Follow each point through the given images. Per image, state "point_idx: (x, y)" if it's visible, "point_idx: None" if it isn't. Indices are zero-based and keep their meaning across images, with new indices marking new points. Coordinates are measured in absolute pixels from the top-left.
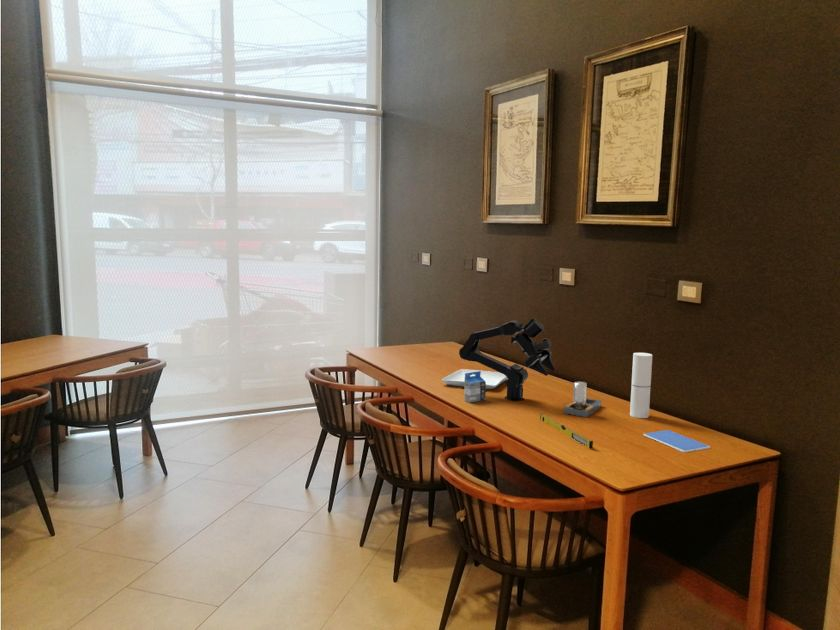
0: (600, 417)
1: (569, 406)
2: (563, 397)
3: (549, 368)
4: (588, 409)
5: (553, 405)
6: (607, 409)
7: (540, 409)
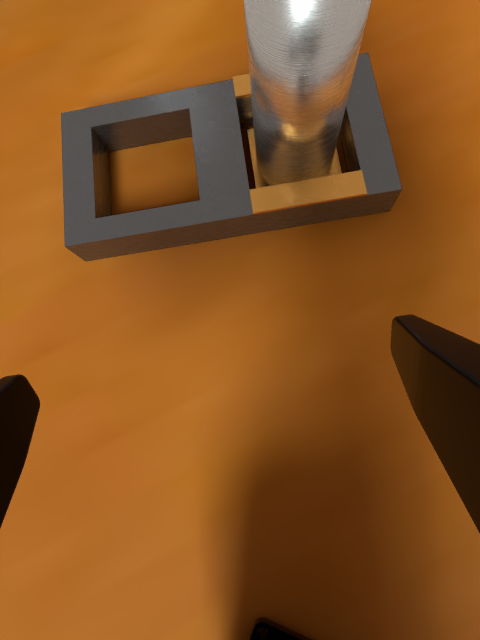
0: None
1: (352, 172)
2: None
3: (4, 498)
4: None
5: (255, 352)
6: (125, 88)
7: None
